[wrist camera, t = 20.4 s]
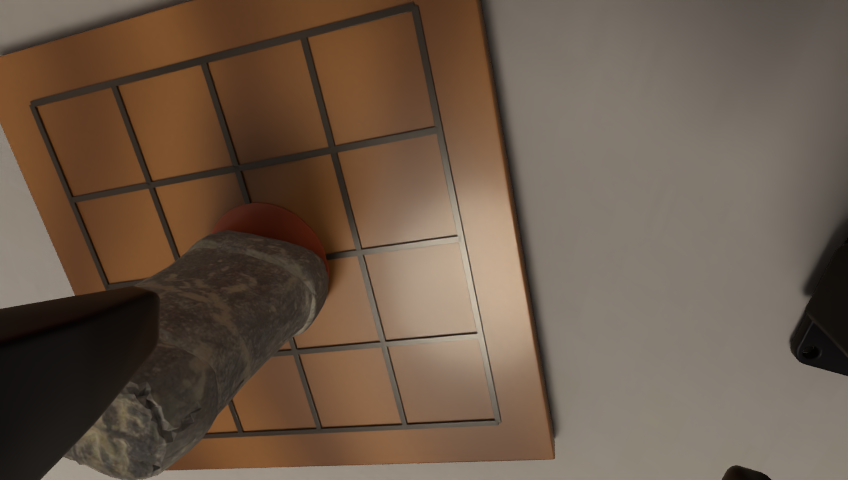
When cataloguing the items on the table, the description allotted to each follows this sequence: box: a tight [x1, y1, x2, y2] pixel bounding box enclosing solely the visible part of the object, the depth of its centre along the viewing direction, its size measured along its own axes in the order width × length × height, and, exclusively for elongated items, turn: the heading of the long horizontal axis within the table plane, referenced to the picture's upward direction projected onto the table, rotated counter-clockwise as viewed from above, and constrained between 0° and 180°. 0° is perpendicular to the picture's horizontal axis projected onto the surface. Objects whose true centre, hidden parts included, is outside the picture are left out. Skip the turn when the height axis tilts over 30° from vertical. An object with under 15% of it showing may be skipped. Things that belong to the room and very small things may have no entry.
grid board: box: [0, 0, 555, 470], centre depth 23 cm, size 20×20×1 cm
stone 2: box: [63, 230, 329, 480], centre depth 17 cm, size 3×6×10 cm, turn 79°
